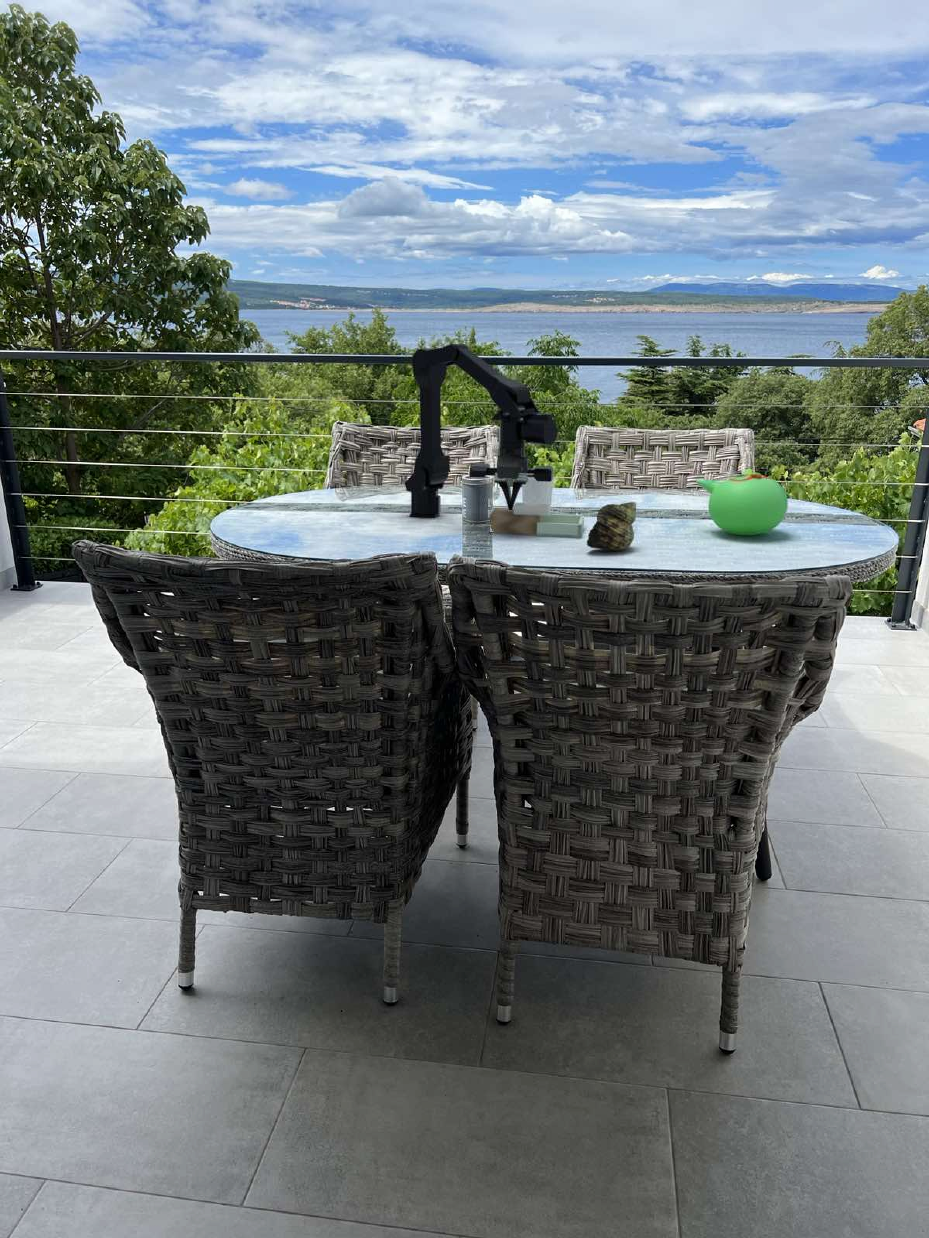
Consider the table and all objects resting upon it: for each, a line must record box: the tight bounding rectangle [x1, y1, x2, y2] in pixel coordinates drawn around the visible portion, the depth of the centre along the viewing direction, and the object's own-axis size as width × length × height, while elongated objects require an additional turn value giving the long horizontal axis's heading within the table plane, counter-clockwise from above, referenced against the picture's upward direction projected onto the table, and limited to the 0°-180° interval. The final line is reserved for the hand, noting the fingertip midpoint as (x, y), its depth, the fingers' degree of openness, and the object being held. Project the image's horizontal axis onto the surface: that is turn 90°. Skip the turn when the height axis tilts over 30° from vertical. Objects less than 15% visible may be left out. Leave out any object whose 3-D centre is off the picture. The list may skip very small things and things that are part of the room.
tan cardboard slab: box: [489, 507, 541, 536], centre depth 229 cm, size 11×9×4 cm
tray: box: [536, 513, 585, 539], centre depth 228 cm, size 10×11×3 cm
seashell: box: [586, 501, 637, 551], centre depth 211 cm, size 11×11×10 cm
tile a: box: [513, 502, 533, 515], centre depth 228 cm, size 4×4×2 cm
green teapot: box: [695, 468, 789, 536], centre depth 226 cm, size 18×17×15 cm
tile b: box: [531, 503, 552, 516], centre depth 227 cm, size 4×4×2 cm
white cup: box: [521, 474, 555, 510], centre depth 246 cm, size 8×8×10 cm
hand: (510, 509), depth 228 cm, fingers closed
